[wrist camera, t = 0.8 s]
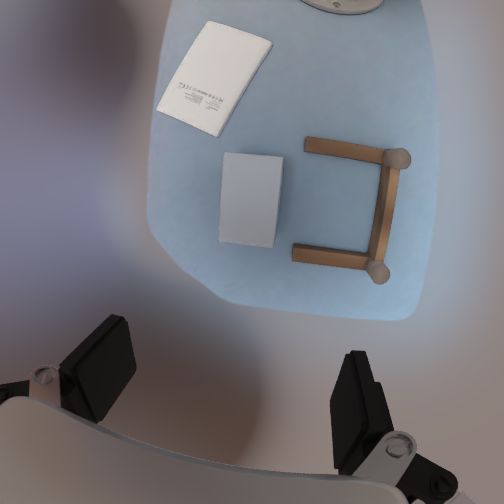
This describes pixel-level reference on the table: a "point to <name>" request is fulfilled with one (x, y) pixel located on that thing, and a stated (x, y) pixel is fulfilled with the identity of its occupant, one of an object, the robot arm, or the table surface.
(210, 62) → the external hard drive
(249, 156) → the tall white block
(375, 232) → the frame
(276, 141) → the table surface
